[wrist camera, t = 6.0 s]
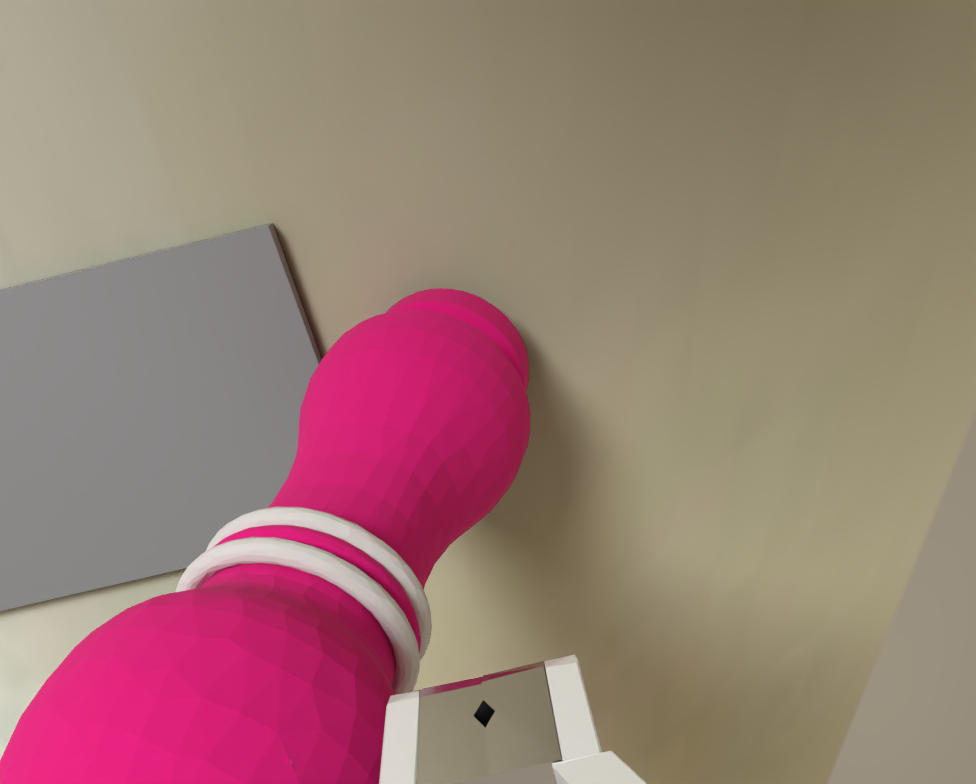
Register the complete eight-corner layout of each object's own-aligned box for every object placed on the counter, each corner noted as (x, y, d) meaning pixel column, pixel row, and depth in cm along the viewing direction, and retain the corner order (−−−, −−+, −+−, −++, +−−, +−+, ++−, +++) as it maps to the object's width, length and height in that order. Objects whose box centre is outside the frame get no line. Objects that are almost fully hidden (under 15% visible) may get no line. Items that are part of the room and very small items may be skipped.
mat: (272, 223, 22) (268, 225, 21) (378, 515, 27) (377, 523, 26) (-307, 364, 22) (-326, 370, 22) (-93, 625, 28) (-104, 635, 27)
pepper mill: (340, 283, 23) (-541, 947, 5) (531, 264, 21) (170, 1122, 4) (382, 447, 26) (-88, 1211, 8) (551, 441, 24) (406, 1368, 7)
